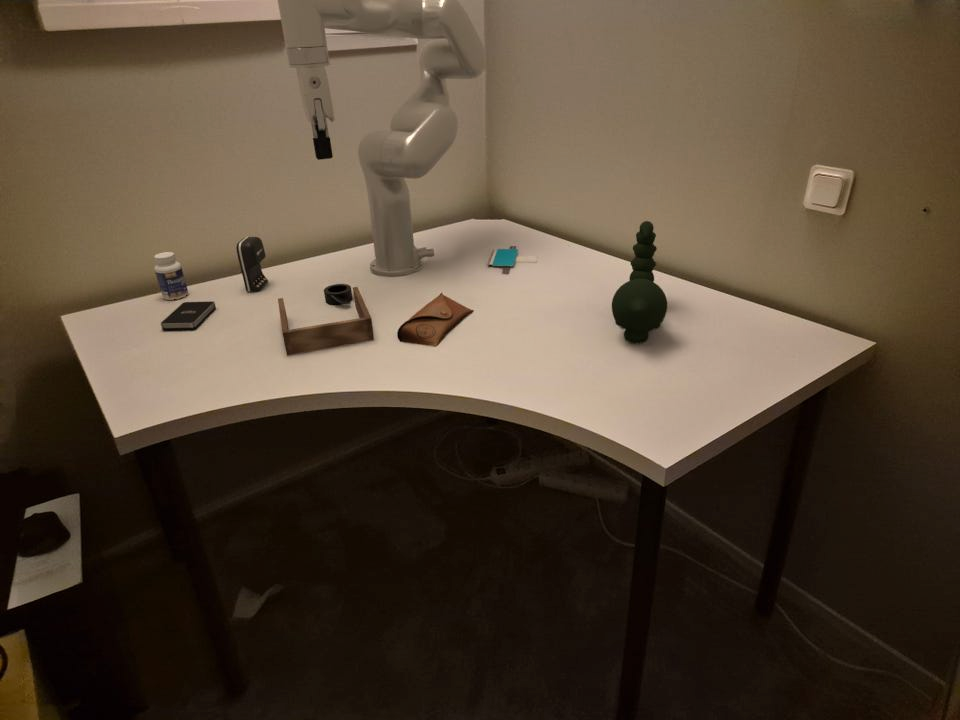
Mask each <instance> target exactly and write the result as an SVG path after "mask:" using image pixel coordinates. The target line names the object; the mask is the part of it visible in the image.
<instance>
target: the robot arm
mask: <svg viewBox="0 0 960 720" xmlns="http://www.w3.org/2000/svg"><path fill="white" fill-rule="evenodd" d="M277 4H278V10H279V15H280V21H281V27H282V33H283V38H284V43H285V50H286V56H287V61H288V66H289V68H291V69H296V71H295V72H296V77H297V81H298V87H299V93H300V97H301V98H300V99H301V101H302V106H303V110H304V111H303V112H304V115H305V118H306V120H307V121H308V122H309V123H310V124H311V131H312V136H313V137H312V142H313V147H314V154H315V158H316V160H318V161H319V160H329V159H333V158H334V154H333V149H332V143H331V137H330V134H329V127H328V121H327V119H328V120H329V121H330V122H331V123H334V122H335V120H336V118H335V112H334V108H333V107H334V106H333V101H332V100H333V99H332V96H331V90H330V82H329V79H328V75H327V70H326V66H327V67H328V66H330V65H331V64H330V56H329V49H328V43H327V42H328V41H327V37H326V29H328V30H339V31H349V32H359V33H364V34H371V35H382V36H384V35H385V36H393V37H402V38H407V39H408V38H409V39H417V40H430V39H431V40H430V41H427V43H425V44H424V45H423V47H422V48H421V50H420V53H419V59H418V63H419V64H418V65H419V66H418V68H419V84H418V86H417V88H416V89H415V90H414V92H412V94H411V95H410V96H409V97H407V99H406V100H405V101H404V102H403V103H402V104H401V105H400V106H399V108H397V109H396V111H395V112H394V114H393V115H392V117H391V119H390V122H389V129H374V130H371V131H368V132H366V133H365V134H364V135H363V136H362V137H361V139H360V141H359V143H358V147H357V153H358V154H357V156H358V161H359V165H360V168H361V171H362V173H363V178H364V181H365V185H366V192H367V198H368V199H367V200H368V207H369V215H370V216H369V217H370V223H371V224H370V226H371V233H372V242H373V248H374V256H375V257H374V258H375V259H373V260H372V261H371V262H370V263H369V270H370V271H371V272H372V273H373V274H376V275H380V276H386V277H387V276H389V277H390V276H391V277H394V276H395V277H398V276H405V275H408V274H411V273H415V272H416V271H418V270H420V269H421V268H422V267H423V260H422V259H423V258H430V257H432V258H433V257H435V249H434V248H432V247H431V248H428V247H427V246H425V247H419V248H418V247H416V246H415V242H414V240H415V239H414V229H413V220H412V219H413V218H412V217H413V216H412V207H411V205H412V204H411V196H410V190H409V187H408V184H407V182H406V180H405V179H411V180H413V179H414V180H416V179H421V178H423V177H425V176H426V175H427V174H428V173H429V172H430V171H431V170H432V169H433V168H434V167H436V164H437V163H439V161H440V160H441V159H442V158H443V156H444V155H445V154H446V153H447V152H448V151H449V150H450V148H451V147H452V146H453V145H454V142H455V141H456V138H457V135H458V130H459V119H458V116H457V114H456V111H454V109H453V108H452V107H451V105H450V104H451V99H450V94H449V92H448V87H447V79H448V80H473V79H476V78H478V77H480V76H481V75H482V74H483V72H485V68H486V65H487V53H486V49H485V46H484V43H483V41H482V39H481V37H480V35H479V33H478V32H477V30H476V28H475V26H474V24H473V21H472V19H471V18H470V16H469V14H468V13H467V11H466V10H465V8H464V6H463V5H462V3H460V1H459V0H277Z"/></svg>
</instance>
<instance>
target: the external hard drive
mask: <svg viewBox="0 0 960 720" xmlns="http://www.w3.org/2000/svg"><path fill="white" fill-rule="evenodd" d="M216 309H217V306H216V303H215V300H214V301H212V300H211V301H210V300H209V301H204V300H203V301H184V302H181V304H180V305H178V306H177V307H176V308H175V309H174V310H173V311H171V313H170V314H169V315H168V316H166V317H165V318H164V319H163V320H161V322H160V327H161V329H162V331H164V332H174V331H175V332H178V331H180V332H183V330H184V331H186V330H190V331H196V330H197V329H198V328H199V327H200V326H201V325H202V324H203V323H204V322H205V321H206V320H207V319H208V318H209V317H210V316H211V315H212V314H213V313H214V312H215V311H216ZM214 310H215V311H214ZM213 311H214V312H213ZM212 312H213V313H212ZM211 313H212V314H211ZM210 314H211V315H210ZM209 315H210V316H209ZM208 316H209V317H208ZM207 317H208V318H207ZM206 318H207V319H206ZM205 319H206V320H205Z"/></svg>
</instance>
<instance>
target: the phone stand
mask: <svg viewBox="0 0 960 720" xmlns="http://www.w3.org/2000/svg"><path fill="white" fill-rule="evenodd" d="M518 251H519V249H518V248H517V245H514V246H513V245H510V246H509V248H497V250H496V249H492V251H491V254H490V255H491V256H490V259H489V260H488V263H487V265H488V266H490V265H491V266H492V267H497V268H498V269H502V272H501V274H503V275H504V274H505V275H506V274H507V275H509V273H510V271H511V268H512V267H514V265H515V263H534V264H535V263H537V261H538V256H517V255H518Z"/></svg>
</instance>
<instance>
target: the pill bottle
mask: <svg viewBox="0 0 960 720" xmlns="http://www.w3.org/2000/svg"><path fill="white" fill-rule="evenodd" d="M154 260H155V263H156V265H155V266H154V273H155V276H156V279H157V283H158V286H159V288H160V292H161V296H162V298H163V300H166V301H175V300H174V299H177V300H181V299H183V298H185V297H187V296H188V295H189V290H188V286H187V282H186V279H185V278H186V277H185V274H184V271H183V268H182V265H181V263H180V262H179V261H176V255H175V253H174V251H173V252H171V251H165V252H160V253H157V254H155V255H154ZM186 295H187V296H186ZM182 297H183V298H182ZM180 298H181V299H180Z"/></svg>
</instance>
